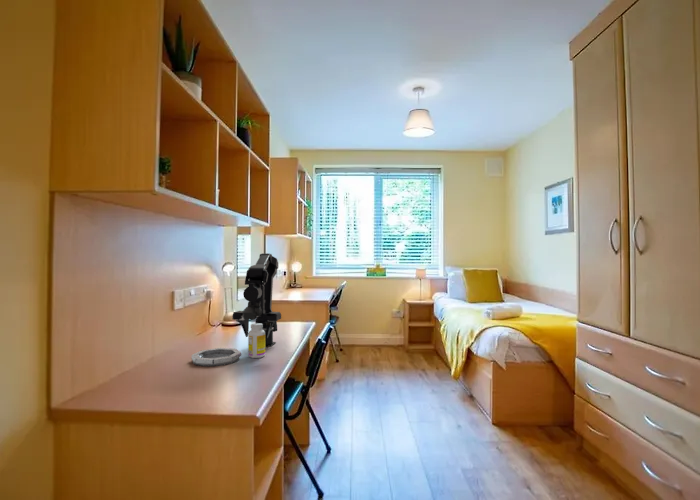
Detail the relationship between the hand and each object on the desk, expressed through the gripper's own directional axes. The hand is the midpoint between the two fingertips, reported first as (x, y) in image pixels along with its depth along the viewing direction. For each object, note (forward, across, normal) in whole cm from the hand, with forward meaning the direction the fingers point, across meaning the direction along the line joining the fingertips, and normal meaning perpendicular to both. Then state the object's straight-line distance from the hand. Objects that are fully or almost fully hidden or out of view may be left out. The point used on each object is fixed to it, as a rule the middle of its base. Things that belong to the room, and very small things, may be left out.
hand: (256, 337), depth 153 cm
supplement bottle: (+8, 0, 0) cm, 8 cm away
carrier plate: (+8, -13, -8) cm, 17 cm away
